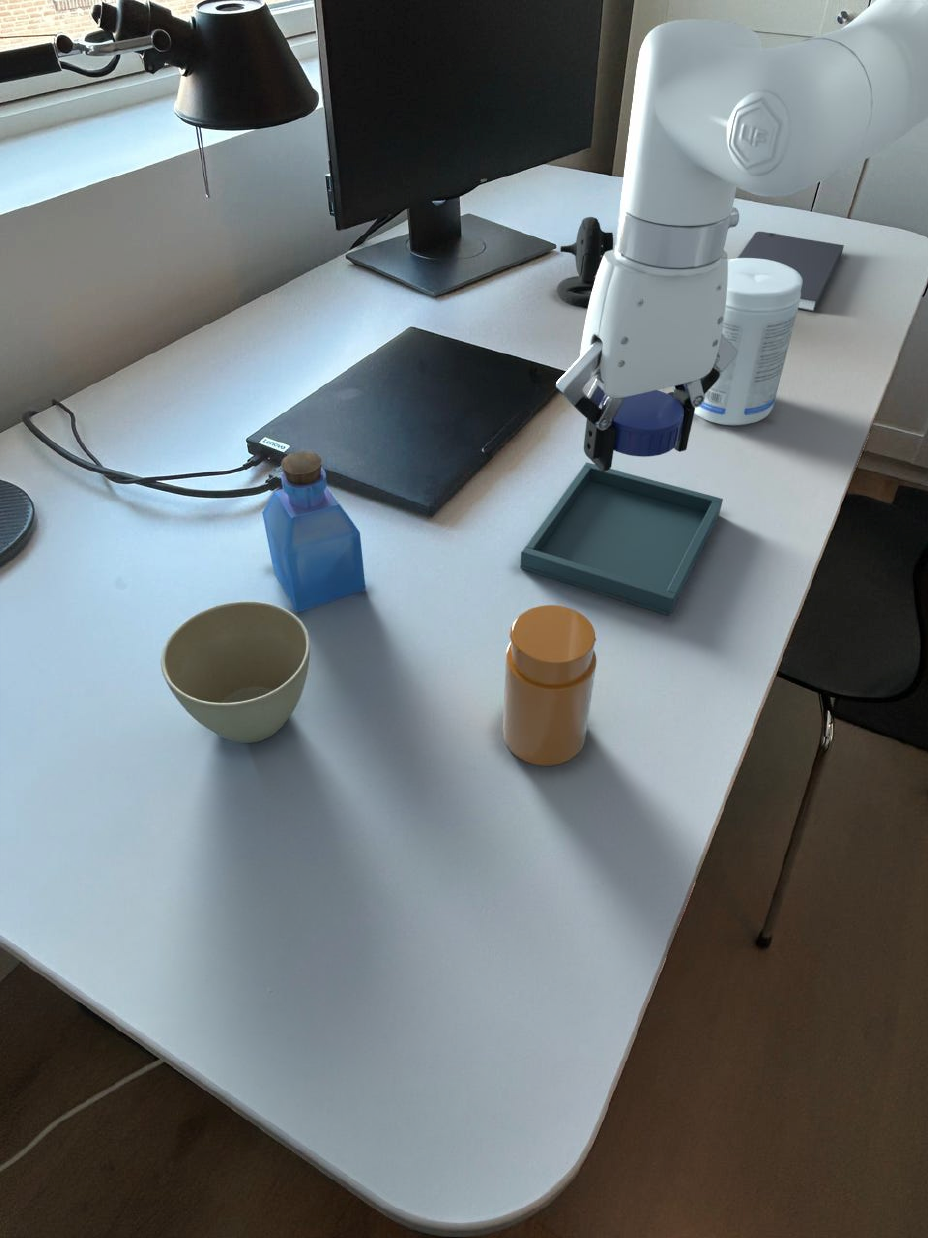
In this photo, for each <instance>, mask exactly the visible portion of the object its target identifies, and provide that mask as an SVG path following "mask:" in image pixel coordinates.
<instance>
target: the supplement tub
mask: <svg viewBox="0 0 928 1238" xmlns="http://www.w3.org/2000/svg"><path fill="white" fill-rule="evenodd" d="M802 282H803V280H802V277H801V275H800V274H799V273H798V272H797V271H796V270H794V269H793V268H791V267H789V266H787V265H784V264H781V263H778V262H775V261H770V260H765V259H757V258H738V257H737V258H731V259H728V285H727V298H726V307H725V315H724V322H723V329H722V335H723V336H724V337H725V338H726V339H727V340H728V341H729V342H730V343H731V344H732V345H733V346H734V347H735V348H736V349H737V355H736V357H735V358H734V359H733V360H732V362H731V363H730V364H729V365H728V366H727V367H726V368H725V370H724V371H723V372H720V377H719V379H718V380H717V382H716V383H715V384H714V385H713V386H712V387H711V388H710V389H709V390H708V391H707V392H706V393H705V394H704V397H705V399H704V402H703V404H702V405H701V406H699V407H697V408H695V412H694V415H695V416H696V415H697V416H698V417H700V418H701V419H703V420H706V421H709V422H711V423H716V424H718V425H724V426H744V425H748V424H753V423H757V422H759V421H762V420H763V419H765V418H766V417H767V416H768V415H769V414H771V412H772V410H773V408H774V405H775V401H776V399H777V393H778V390H779V387H780V382H781V378H782V375H783V370H784V365H785V361H786V359H787V353H788V350H789V346H790V342H791V339H792V334H793V330H794V326H795V322H796V319H797V314H798V310H799V309H798V306H799V302H800V297H801V288H802Z"/></svg>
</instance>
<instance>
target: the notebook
mask: <svg viewBox="0 0 928 1238" xmlns="http://www.w3.org/2000/svg"><path fill="white" fill-rule="evenodd" d="M844 247H845V245H844V244H840V243H832V242H827V241H821V240H814V239H809V238H802V237H797V236H789V235H784V234H780V233H779V234H778V233H774V232H773V233H772V232H765V231H756V232H754V234H753V235H752V237H751V238H750V240H749V241H748V242H747V244H746V245H745V247H744V248H743V250H742V251H741V252H740V254H739V255H738V257H737V258H757V259H765V260H770V261H775V262H778V263H781V264H784V265H787V266H789V267H791V268H793V269H794V270H796V271H797V272H798V273H799V274H800V275H801V277H802V280H803V282H802V288H801V297H800V302H799V306H798V310H800V311H807V312H811V313H814V312H815V310H816V309H817V307H818V304H819V302H820V300H821V297H822V296H823V294H824V292H825V289H826V288H827V285H828V283H829V281H830V279H831V278H832V275H833V273H834V271H835V270H836V267H837V265H838V263H839V261H840V259H841V257H842V254H843V251H844Z"/></svg>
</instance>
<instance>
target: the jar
mask: <svg viewBox="0 0 928 1238" xmlns="http://www.w3.org/2000/svg"><path fill="white" fill-rule="evenodd" d="M509 639H510V643H509V644H508V647H507V649H506V652H505V653H506V654H505V671H504V673H505V674H504V693H503V717H502V737H503V740H504V743H505V745H506V747H507V748H508V750H509V751H510V752H511V753H512V754H513V755H515V756H516V757H517V758H519V759H520V760H522V761H524V762H526V763H529V764H531V765H536V766H543V767H544V766H545V767H550V766H557V765H562V764H564V763H566V762H569V761H570V760H571V759H574V757H576V756H577V755H578V754H579V753H580V752H581V750H582V749H583V747H584V745H585V741H586V736H587V729H588V723H589V715H590V709H591V702H592V696H593V688H594V682H595V676H596V669H597V654H596V652H595V644H596V642H597V638H596V632H595V629H594V626H593V624H592V623H591V621H590V620H589V619H588V618H587V617H586V616H584V614H582V613H581V612H579V611H577V610H575V609H573V608H570V607H567V606H562V605H555V604H549V605H547V604H546V605H540V606H535V607H532V608H530V609H528V610H526V611H524V612H523V613H521V614H520V615H519V616H518V617H517V618H516V619H515V620H514V621H513V623H512V625H511V627H510V631H509Z"/></svg>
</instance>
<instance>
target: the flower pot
mask: <svg viewBox="0 0 928 1238" xmlns="http://www.w3.org/2000/svg"><path fill="white" fill-rule="evenodd" d="M310 654H311V640H310V635H309V633H308V630H307V627H306V626H305V624H304V623H303V622H302V620H301V619H300V618H299V617H297V616H296V615H295V614H293V613H292V612H291V611H289V610H288V609H286V608H284V607H282V606H279V605H277V604H273V603H268V602H264V601H257V600H254V601H253V600H242V601H241V600H239V601H231V602H226V603H222V604H218V605H215V606H212V607H209V608H207V609H206V608H205V609H204V610H201V611H199V612H197V613H195V614H194V615H192V616H190V617H189V618H188V619H186V620H185V621H183V622H182V623H181V624H180V625H179V626H177V627H176V628H175V630H174V631H173V632H172V633H171V634H170V635H169V637H168V639H167V640H166V642H165V643H164V646H163V648H162V652H161V656H160V668H161V673H162V676H163V678H164V680H165V683H166V684H167V686H168V688H169V689H170V691H171V692H172V694H173V696H174V697H175V699H176V700H177V701H178V702H179V704H180V705H181V706H182V707H183V709H184V710H185V711H186V712H187V713H188V714H189V715H190V716H191V717H192V718H193V719H194V720H196V721H197V722H198V723H199V724H200V725H201V726H203V727H204V728H206V729H207V730H208V731H210V732H212V733H214V734H215V735H217V736H220V737H222V738H224V739H226V740H229V741H232V742H235V743H239V744H251V743H258V742H261V741H264V740H266V739H268V738H270V737H272V736H274V735H275V734H276V733H277V732H278V731H279V730H280V729H281V728H282V727H283V726H284V725H285V724H286V723H287V721H288V719H289V718H290V717H291V715H292V714H293V712H294V711H295V709H296V707H297V705H298V703H299V701H300V698H301V697H302V693H303V691H304V687H305V685H306V681H307V678H308V672H309V667H310V656H311V655H310Z"/></svg>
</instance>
